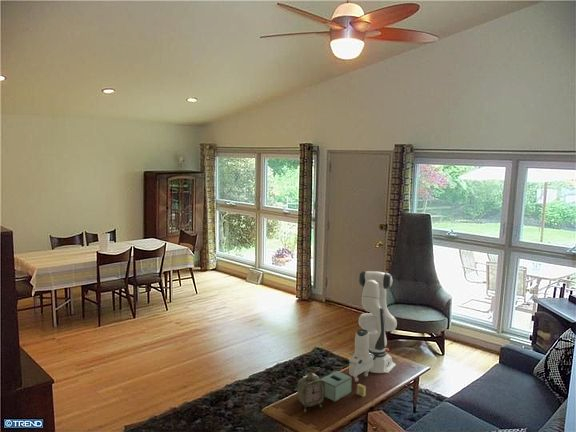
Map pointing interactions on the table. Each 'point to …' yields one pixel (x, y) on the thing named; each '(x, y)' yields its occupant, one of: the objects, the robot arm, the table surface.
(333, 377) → the coin box
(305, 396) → the tabletop clock
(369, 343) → the robot arm
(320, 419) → the table surface
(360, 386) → the wooden yellow block
